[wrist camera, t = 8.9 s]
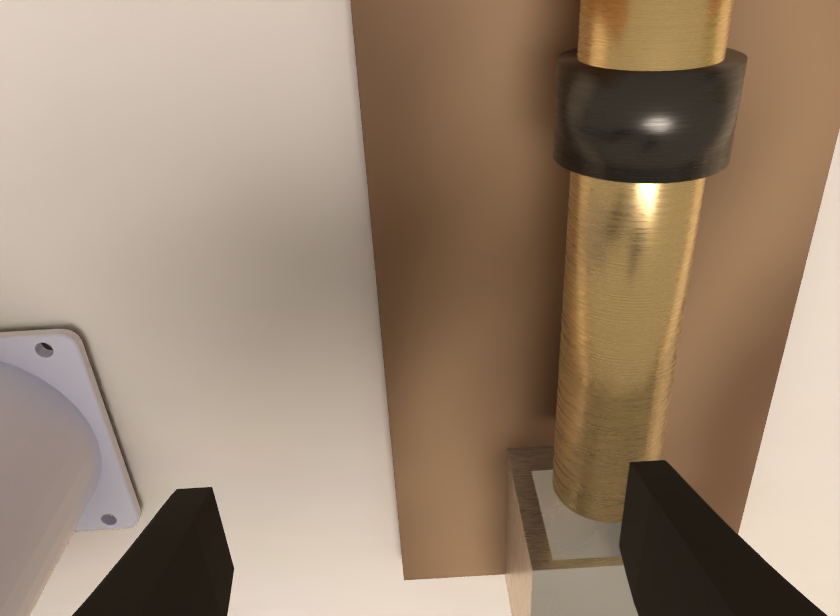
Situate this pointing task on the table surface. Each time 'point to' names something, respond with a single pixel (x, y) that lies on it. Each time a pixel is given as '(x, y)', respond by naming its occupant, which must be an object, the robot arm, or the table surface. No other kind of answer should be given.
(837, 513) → the table surface
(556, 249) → the base board
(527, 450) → the outer sleeve
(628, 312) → the inner tube
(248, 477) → the table surface
